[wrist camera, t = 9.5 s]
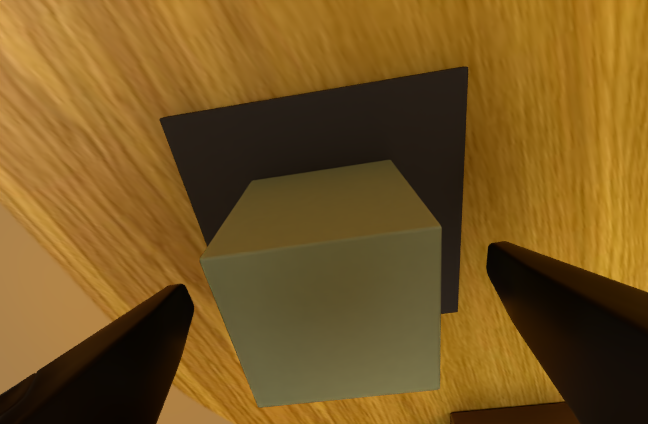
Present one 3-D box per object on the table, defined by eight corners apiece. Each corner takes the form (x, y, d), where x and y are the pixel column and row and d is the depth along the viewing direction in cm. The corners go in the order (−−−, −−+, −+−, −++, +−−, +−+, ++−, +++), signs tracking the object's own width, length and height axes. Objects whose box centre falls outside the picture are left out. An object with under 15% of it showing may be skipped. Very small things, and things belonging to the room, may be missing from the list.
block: (281, 289, 13) (257, 409, 8) (251, 180, 11) (197, 259, 6) (398, 274, 12) (440, 391, 8) (390, 159, 10) (443, 225, 6)
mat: (243, 330, 14) (241, 337, 14) (164, 116, 10) (158, 118, 10) (454, 306, 14) (458, 312, 13) (463, 66, 9) (469, 66, 9)
